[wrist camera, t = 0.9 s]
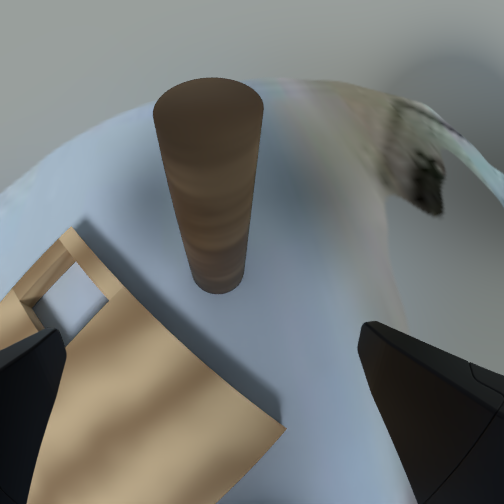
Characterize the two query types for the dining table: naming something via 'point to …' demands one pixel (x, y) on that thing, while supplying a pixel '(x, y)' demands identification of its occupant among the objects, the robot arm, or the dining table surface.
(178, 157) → the stool leg
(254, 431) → the stool top
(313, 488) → the dining table surface
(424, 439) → the robot arm
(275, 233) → the dining table surface
